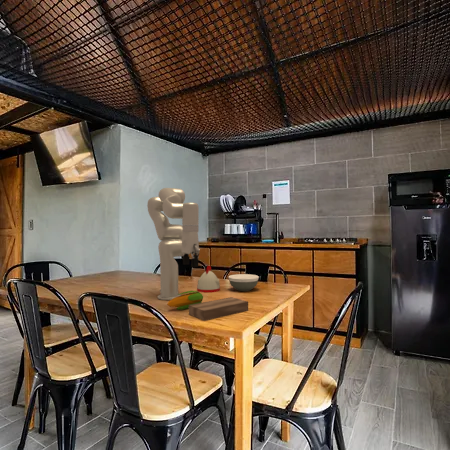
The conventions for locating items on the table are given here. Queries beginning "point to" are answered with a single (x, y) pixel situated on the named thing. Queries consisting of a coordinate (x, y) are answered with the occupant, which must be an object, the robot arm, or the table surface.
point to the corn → (186, 300)
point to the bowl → (243, 281)
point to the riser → (218, 308)
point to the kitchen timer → (208, 282)
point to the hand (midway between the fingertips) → (190, 265)
